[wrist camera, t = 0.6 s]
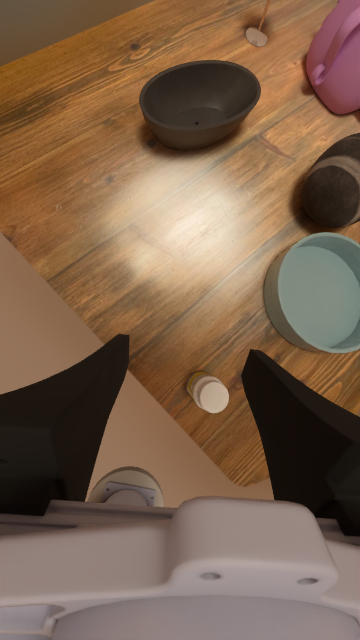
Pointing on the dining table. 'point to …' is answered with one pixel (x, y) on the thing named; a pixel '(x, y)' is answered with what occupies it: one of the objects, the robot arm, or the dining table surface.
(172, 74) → the bowl
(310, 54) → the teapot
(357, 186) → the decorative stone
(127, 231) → the dining table surface
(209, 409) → the supplement bottle
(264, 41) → the wineglass
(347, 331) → the pan
